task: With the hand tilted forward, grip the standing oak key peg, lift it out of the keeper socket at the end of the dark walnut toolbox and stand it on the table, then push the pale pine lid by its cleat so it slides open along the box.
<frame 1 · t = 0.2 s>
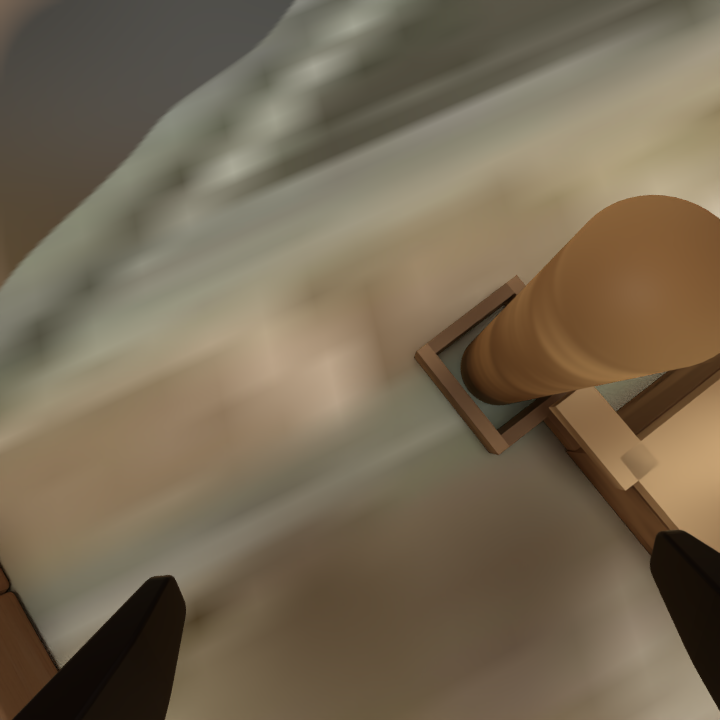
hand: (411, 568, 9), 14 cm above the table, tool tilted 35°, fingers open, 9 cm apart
wooden block: (5, 640, 23), on the table
key peg: (497, 368, 23), resting in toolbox
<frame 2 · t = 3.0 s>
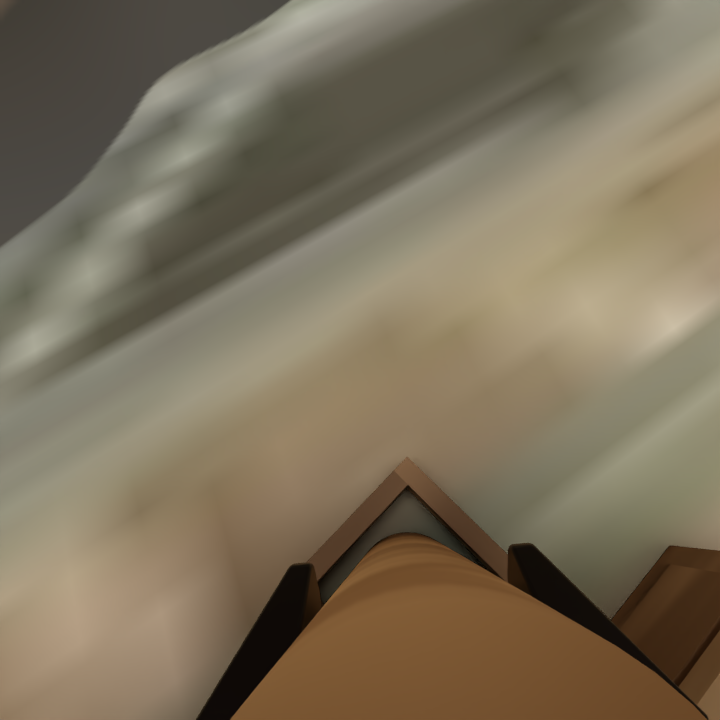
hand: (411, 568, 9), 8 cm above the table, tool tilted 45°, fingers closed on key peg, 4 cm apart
key peg: (409, 590, 16), resting in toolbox, touching gripper
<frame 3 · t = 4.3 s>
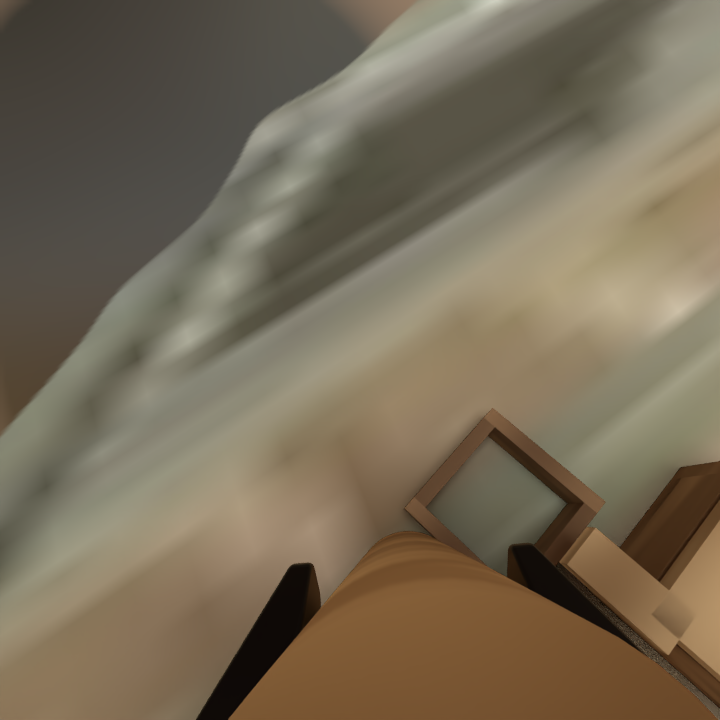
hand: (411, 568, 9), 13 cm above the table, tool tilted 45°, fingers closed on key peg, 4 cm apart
key peg: (410, 589, 16), point 6 cm above the table, touching gripper
when the fingers open (8 cm above the table, at t = 5.6 s): key peg stays where it is, on the table.
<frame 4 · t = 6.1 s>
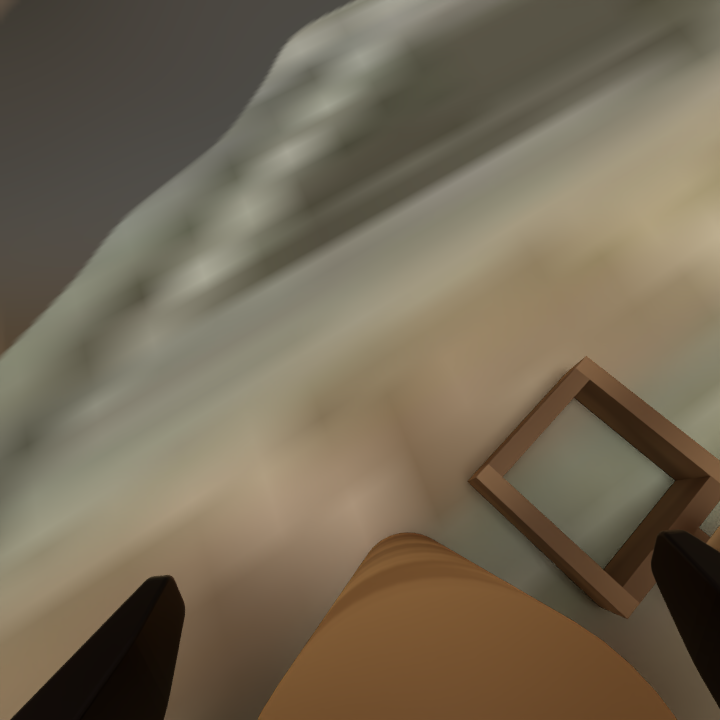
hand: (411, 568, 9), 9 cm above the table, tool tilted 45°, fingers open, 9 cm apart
key peg: (409, 587, 17), on the table
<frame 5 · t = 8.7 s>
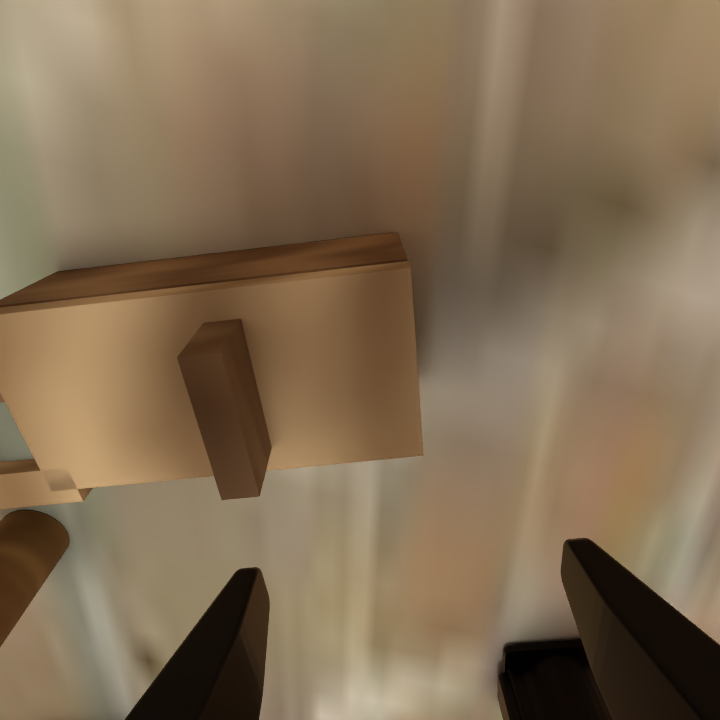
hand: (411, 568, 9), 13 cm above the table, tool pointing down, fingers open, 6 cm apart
lid: (163, 417, 15), point 6 cm above the table, slide at 0.0 cm
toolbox: (243, 331, 21), on the table
key peg: (34, 534, 26), on the table
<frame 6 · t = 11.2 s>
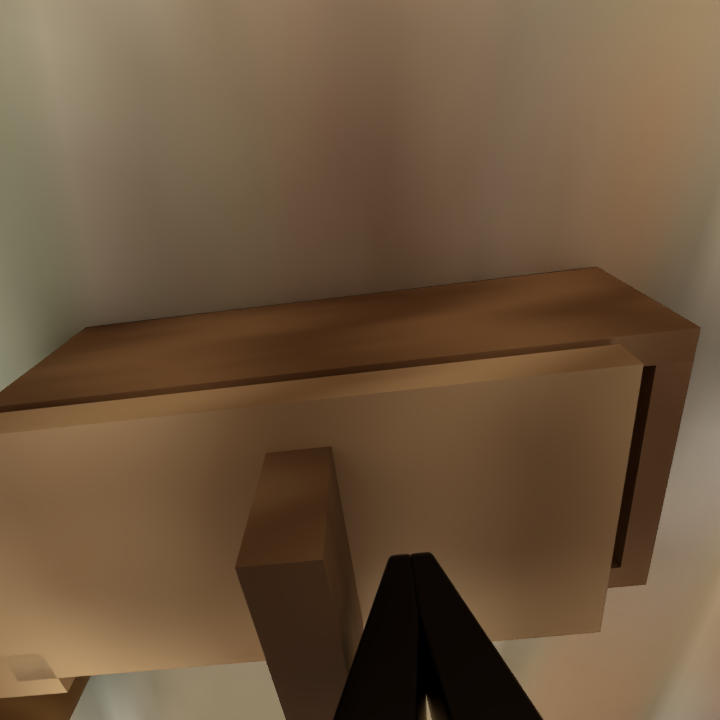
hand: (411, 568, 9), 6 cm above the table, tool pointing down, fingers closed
lid: (196, 606, 9), point 6 cm above the table, slide at 1.6 cm, touching gripper
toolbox: (351, 407, 14), on the table
key peg: (49, 657, 20), on the table
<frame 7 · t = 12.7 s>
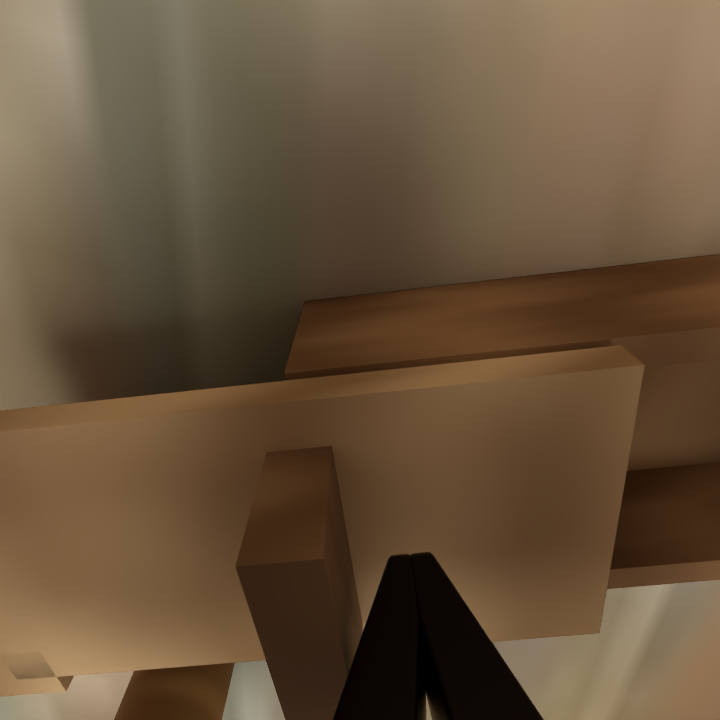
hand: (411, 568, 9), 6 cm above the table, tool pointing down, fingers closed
lid: (196, 605, 9), point 6 cm above the table, slide at 7.8 cm, touching gripper
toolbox: (556, 386, 14), on the table
key peg: (193, 644, 19), on the table
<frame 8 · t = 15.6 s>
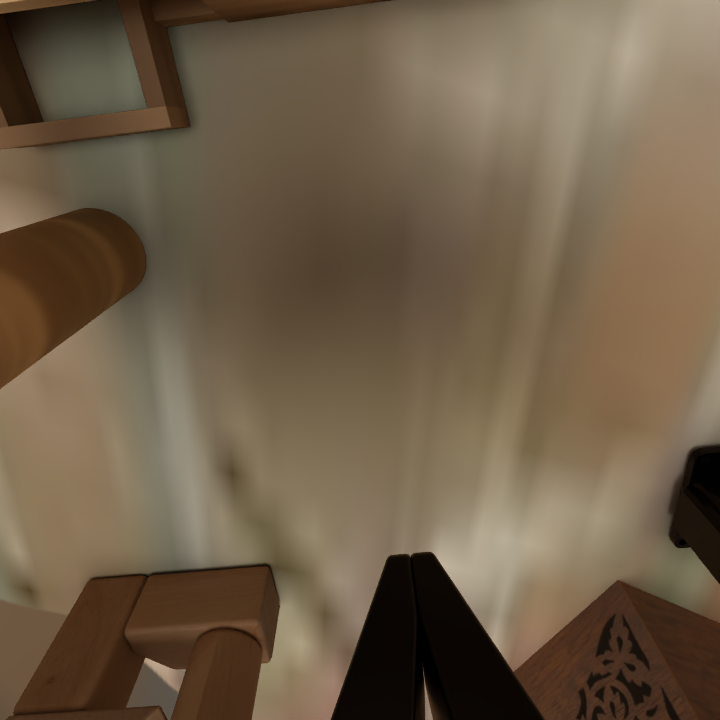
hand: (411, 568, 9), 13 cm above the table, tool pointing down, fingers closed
wooden block: (187, 587, 28), on the table
tissue box cover: (568, 712, 35), on the table
key peg: (100, 254, 19), on the table
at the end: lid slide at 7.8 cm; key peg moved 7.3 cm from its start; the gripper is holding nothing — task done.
